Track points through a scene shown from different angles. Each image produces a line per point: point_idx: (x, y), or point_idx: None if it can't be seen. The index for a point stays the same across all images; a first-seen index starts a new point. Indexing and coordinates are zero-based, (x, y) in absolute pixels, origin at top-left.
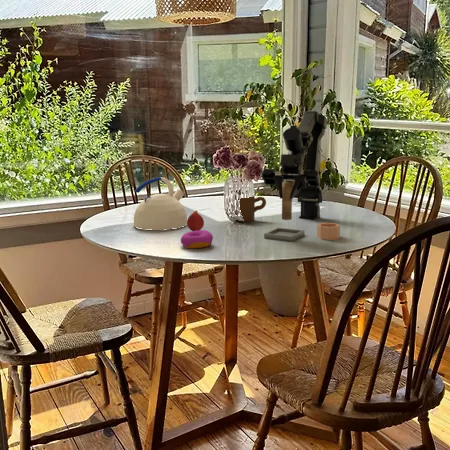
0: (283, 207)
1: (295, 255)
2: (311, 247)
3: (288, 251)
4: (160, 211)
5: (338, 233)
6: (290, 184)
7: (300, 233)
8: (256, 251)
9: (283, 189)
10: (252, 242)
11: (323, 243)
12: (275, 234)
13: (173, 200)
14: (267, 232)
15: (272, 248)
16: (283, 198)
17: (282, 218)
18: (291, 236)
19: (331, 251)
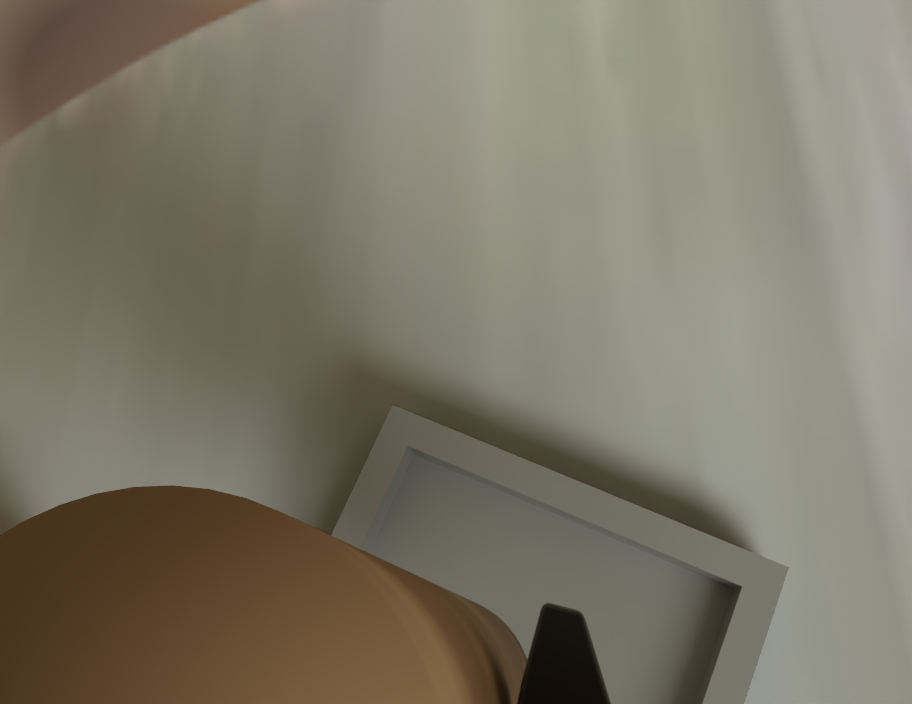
0: (483, 611)
1: (384, 3)
2: (212, 273)
3: (447, 111)
4: None
5: None
6: (5, 577)
7: None
8: (766, 70)
9: (424, 599)
10: (891, 415)
11: (63, 445)
12: (617, 522)
13: None
14: (748, 641)
15: (614, 191)
16: (462, 607)
17: (517, 639)
18: (401, 430)
19: (49, 161)
